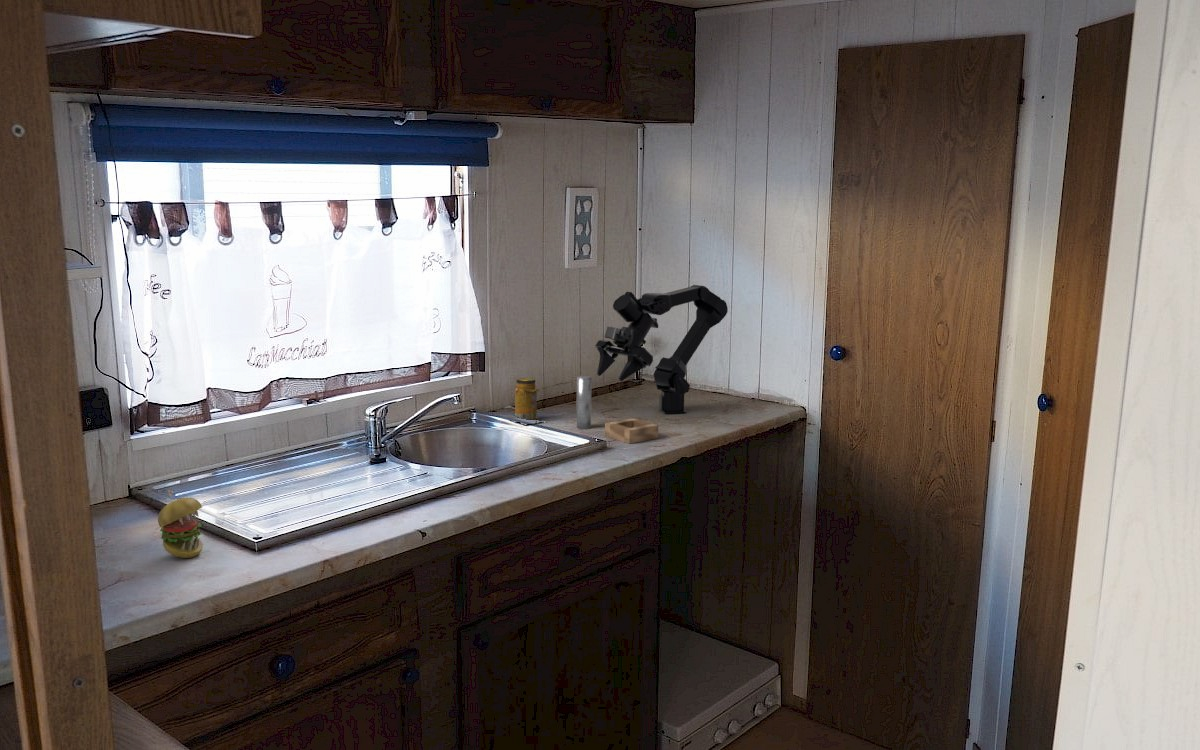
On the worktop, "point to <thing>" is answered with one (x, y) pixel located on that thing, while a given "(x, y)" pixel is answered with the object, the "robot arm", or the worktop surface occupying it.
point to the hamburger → (181, 527)
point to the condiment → (526, 399)
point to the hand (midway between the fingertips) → (609, 377)
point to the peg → (583, 402)
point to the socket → (631, 430)
